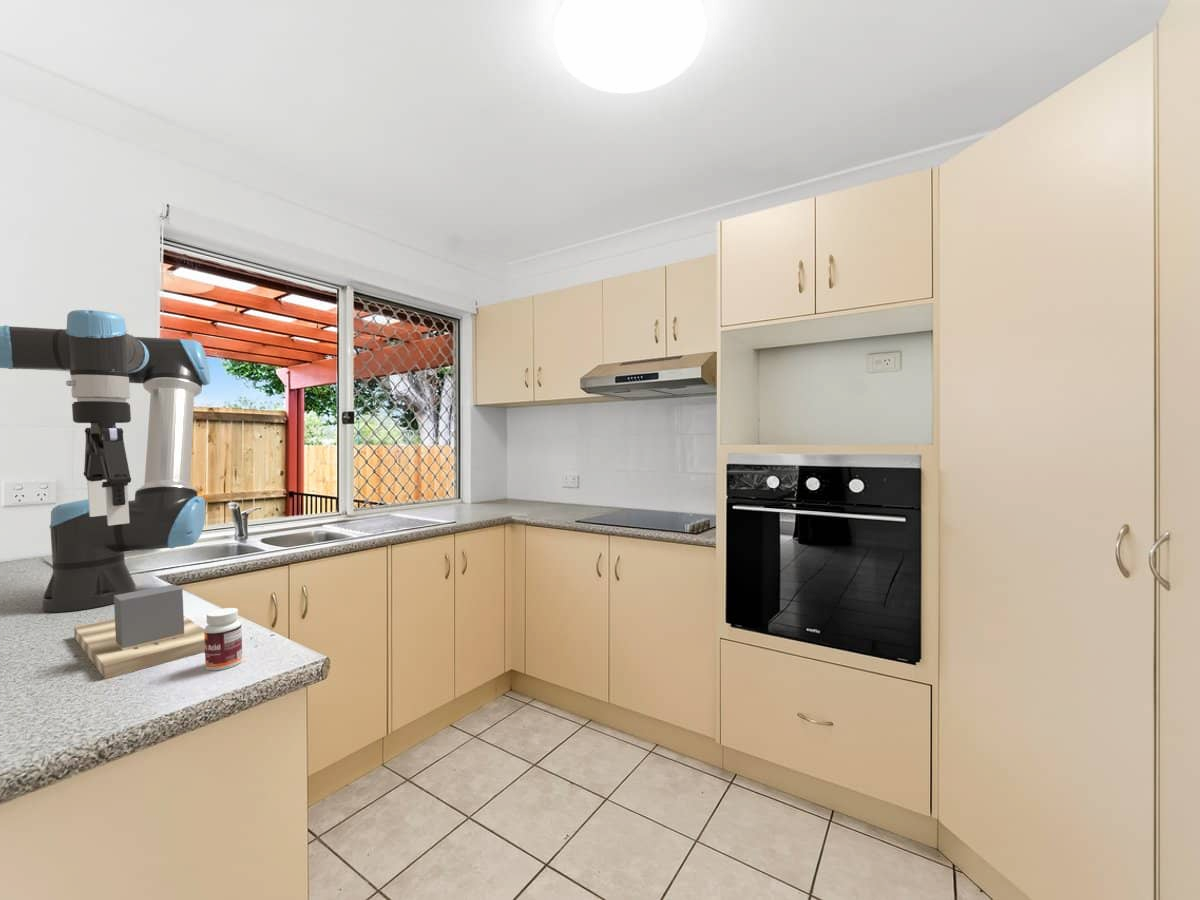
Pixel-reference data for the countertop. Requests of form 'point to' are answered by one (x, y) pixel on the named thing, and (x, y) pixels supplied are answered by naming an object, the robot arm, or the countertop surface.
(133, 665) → the board
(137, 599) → the block
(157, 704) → the countertop surface
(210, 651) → the pill bottle
